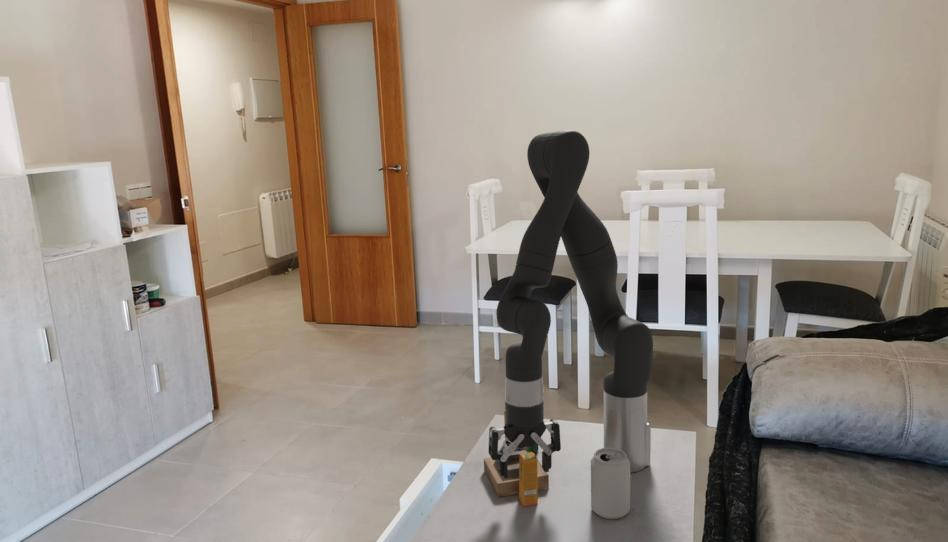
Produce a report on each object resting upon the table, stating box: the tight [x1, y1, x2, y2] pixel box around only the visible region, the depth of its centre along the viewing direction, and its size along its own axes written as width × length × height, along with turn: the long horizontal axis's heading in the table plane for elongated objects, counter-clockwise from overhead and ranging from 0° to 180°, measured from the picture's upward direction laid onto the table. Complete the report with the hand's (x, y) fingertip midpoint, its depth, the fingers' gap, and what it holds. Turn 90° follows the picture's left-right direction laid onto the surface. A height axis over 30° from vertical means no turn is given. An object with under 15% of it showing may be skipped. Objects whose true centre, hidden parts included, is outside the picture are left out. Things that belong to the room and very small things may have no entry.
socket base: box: [483, 450, 550, 498], centre depth 145 cm, size 11×11×4 cm
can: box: [590, 447, 631, 520], centre depth 131 cm, size 8×8×12 cm
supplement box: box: [518, 452, 539, 507], centre depth 136 cm, size 3×3×10 cm
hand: (525, 473), depth 136 cm, fingers open, 8 cm apart
